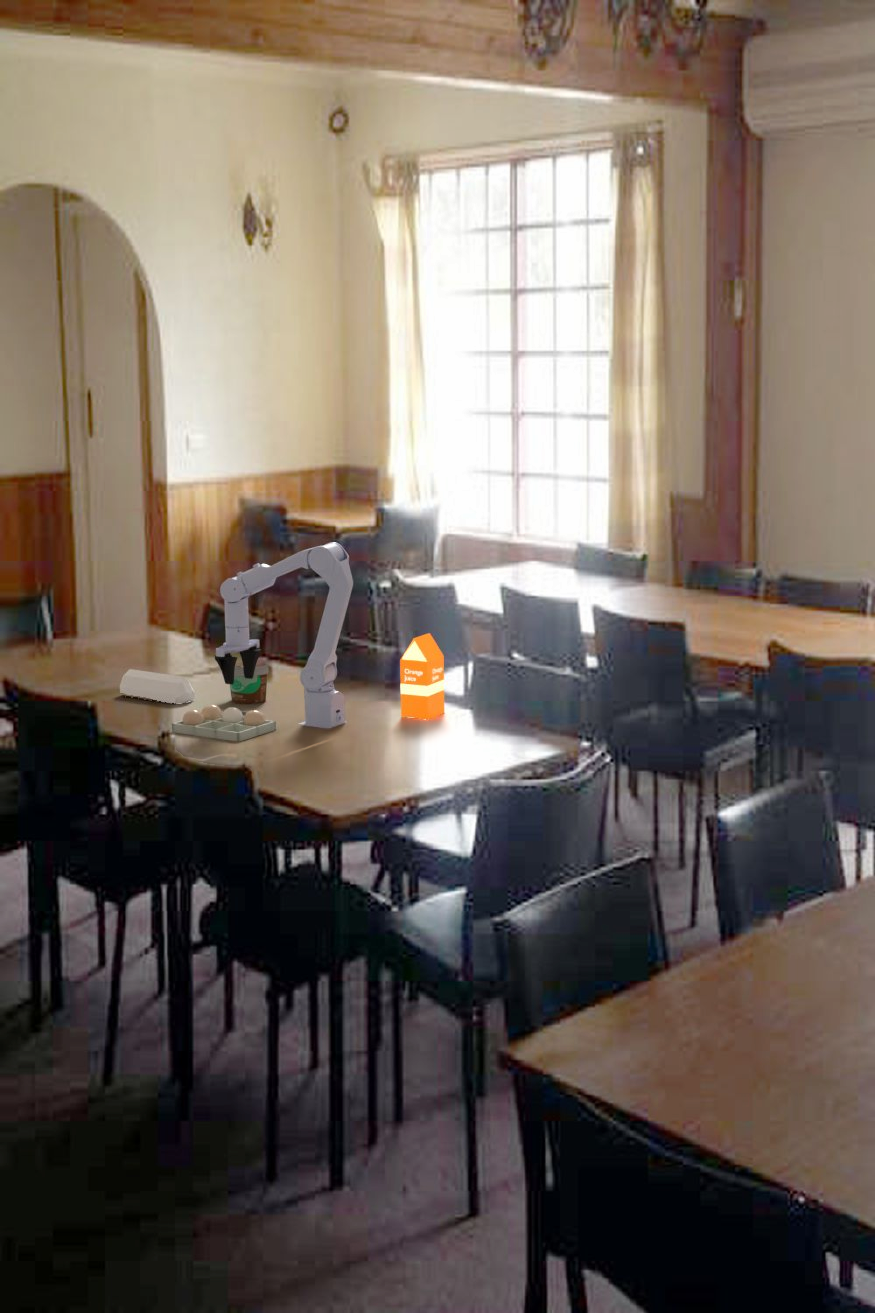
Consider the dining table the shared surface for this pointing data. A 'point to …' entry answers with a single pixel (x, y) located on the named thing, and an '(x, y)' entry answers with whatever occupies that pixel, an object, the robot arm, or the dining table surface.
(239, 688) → the food container
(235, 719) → the white egg
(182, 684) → the white trapezoid ingot
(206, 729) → the egg tray
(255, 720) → the brown egg
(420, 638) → the orange juice
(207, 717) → the brown egg
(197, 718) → the brown egg
